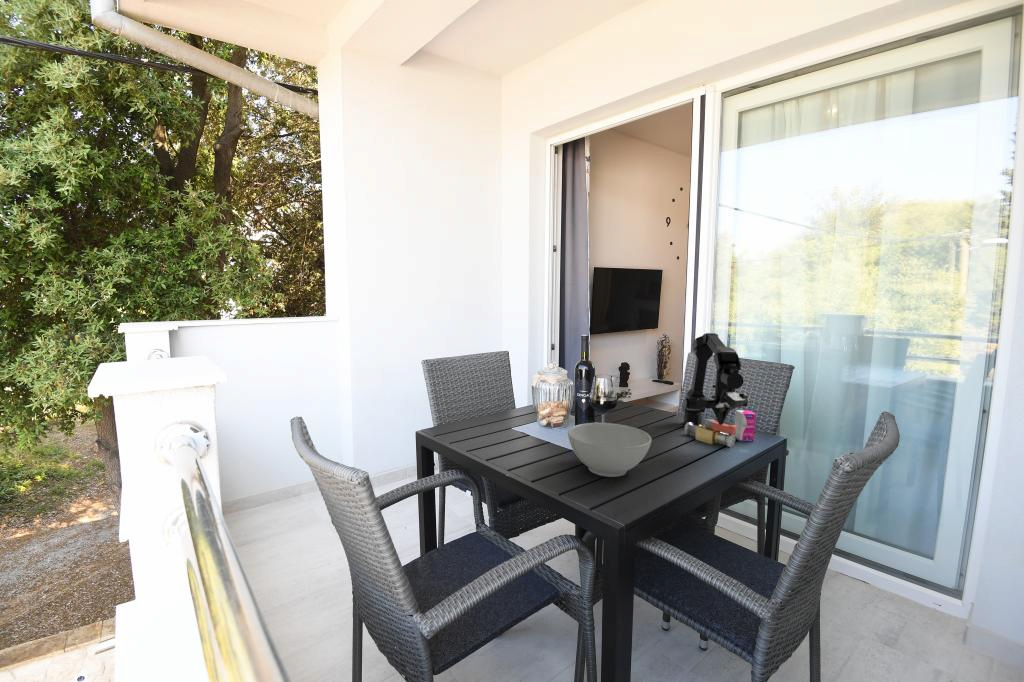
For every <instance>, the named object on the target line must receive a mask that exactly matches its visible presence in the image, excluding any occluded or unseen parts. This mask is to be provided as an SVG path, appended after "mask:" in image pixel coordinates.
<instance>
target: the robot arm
mask: <svg viewBox="0 0 1024 682" xmlns="http://www.w3.org/2000/svg"><path fill="white" fill-rule="evenodd" d="M692 352H693V354H694V356H695V362H694V369H693V375H692V382H691V387H690V389H689V390H688V391H687V392H686V396H685V397H684V400H683V402H682V404H681V409H682V411H683V412H684V415H683V416H684V417H683V422H681V424H682V425H684V426H685V425H686V423H688V422H692V423H693V424H694V425H697V426H698V425H703V423H702V419H703V415H702V413H705V411H706V409H712V411H713V413H714V415H715V418H716V422H718V423H719V424H720V425H723V424H725V423H724V422H725V421H726V418H727V416H728V414H729V413H730V412H731V411H732V410H735V409H736V408H742V407H748V405H749V404H748V401H749V400H748V394H746V393H745V392H740V393H738V392H736V390H737V389H740V388H741V387H742V386H743V385H744V377H743V375H742V374H740V373H739V371H741V370H742V368H741V367H742V363H741V360H740V357H739V354H738V353H737V351H736V350H735V349H734V348H731V347H727V346H726V344H724V342H723V341H722V340H721V339H720V337H719V334H717V333H715V332H714V333H713V332H712V333H711V332H706V333H704V334H702V335H701V336H699V337H696V338H695V339H694V340H693V342H692ZM712 357H713V361H714V364H715V369H716V372H715V374H716V375H715V384H712V388H714V394H713V395H711V398H709V397H706V395H705V394H704V391H703V390H704V385H705V379H706V378H705V377H706V373H707V366H708V361H709V360H710V358H712Z"/></svg>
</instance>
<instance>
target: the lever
mask: <svg viewBox="0 0 1024 682" xmlns="http://www.w3.org/2000/svg"><path fill="white" fill-rule="evenodd" d="M704 425H705V427H706V428H712V429H715V430H719V431H722V432H723V433H725V434H736V426H735V425H734V424H726V423H723V425H720V424H719V423H718V421H717V420H715V419H712V418H705V420H704Z"/></svg>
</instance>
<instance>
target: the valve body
mask: <svg viewBox="0 0 1024 682" xmlns="http://www.w3.org/2000/svg"><path fill="white" fill-rule="evenodd" d="M683 430H684V433H685V434H686V435H689V436H691V435H693V436H695V440H697V441H700V442H702V443H706V444H709V445H714V444H716V445H717V444H718V445H720V444H723V445H725V446H726V447H728V448H733V446H734V445H735V443H736V438H735V435H734V434H729V433H726V432H722V431H719V430H715V429H712V428H706V427H705V424H702V425H698V426H697V425H694V424H693V423H692V422H688V423H686V425H685V424H684V429H683Z"/></svg>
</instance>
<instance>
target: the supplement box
mask: <svg viewBox="0 0 1024 682" xmlns="http://www.w3.org/2000/svg"><path fill="white" fill-rule="evenodd" d="M756 420H757V414H756V413H755V412H753V411H751V410H749V409H748V410H747V409H746V410H745V409H736V410H735V416H734V424H733V425H735V426H736V434H734V435H735V440H737V441H738V442H754V439H755V430H756Z"/></svg>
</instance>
